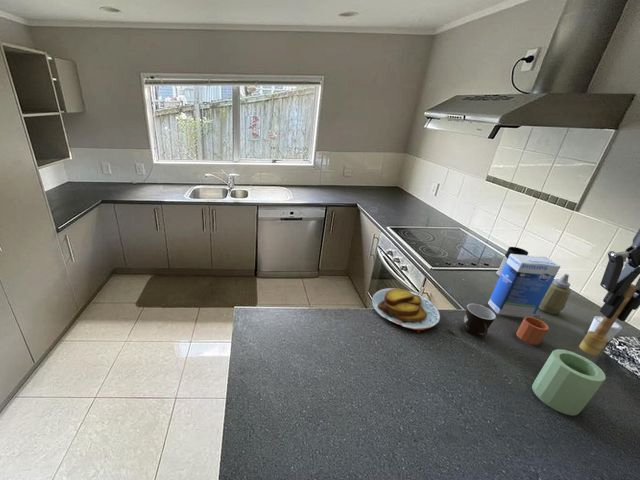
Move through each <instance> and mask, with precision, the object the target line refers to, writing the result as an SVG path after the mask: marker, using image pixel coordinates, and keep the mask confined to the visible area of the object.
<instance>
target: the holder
mask: <svg viewBox="0 0 640 480" xmlns="http://www.w3.org/2000/svg"><path fill="white" fill-rule="evenodd" d="M510 254H518V255H528V256H529V252H528V251H527V250H526V249H525V248H524V249H523V248H520V247H516V246H509V247H508V248H507V251H506V253H505V254H504V256H503V258H502V261H501V262H500V265H499V268H498V270H497V271H495V274H496V275H497V276H499V277H500V276H501V273H502V271H503V269H504V267H505V264H506V262H507V260H508V258H509V255H510Z"/></svg>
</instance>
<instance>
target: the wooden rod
mask: <svg viewBox="0 0 640 480" xmlns="http://www.w3.org/2000/svg"><path fill="white" fill-rule="evenodd" d="M635 285H636V284H633V283H632V284H631V285H630V286H629V287H628V288H627V290H626V291H625V292H624V293H623V294H622V296H624V297H625V299H624V300H623V302H622V303H621V305H620V306H619V308H618V309H617V311H616V312H615V314H614V315H613V317H612V318H611V319H610V318H607V317H605V316H603V317H604V318H603V320H602V321H601V323H600V324H599V326H598V327H597V329H596V330H595V332H594V331H589V332H588V331H587V333H586V335H585V336H584V337H583V339H582V340H581V342H580V344H578V347H579V349H580V350H581V351H583V352H585V353H586V354H589V355H592V356H595V357H597V356H599V355H600V354H601V352H602V351H603V349H604V348H605V347H606V345H607V344H608V343H609V342H610V341H609V340H608V338H607V337H605V335H606V334H607V332H608V331H609V329H610V328H611V326H612V325H613V324H614V322H617V320H618V316H619V315H620V313H621V312H622V310H623V309H624V307H625V306H626V305H627V303H628V302H629V300H630V299H631V297H632V296H633V294H634V293H635V291H636V290H637V288H638V287H637V286H635ZM608 341H609V342H608Z"/></svg>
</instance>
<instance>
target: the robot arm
mask: <svg viewBox="0 0 640 480" xmlns="http://www.w3.org/2000/svg"><path fill="white" fill-rule="evenodd" d="M607 257H608V262H607V264H606V266H605V269H604V272H603V275H602V278H601V281H600V283H599V284H600V287H602V288H603V289H604V290H606V291H607V292H606V294H605V296H604V297H603V299H602V302H603V303H604V304H603V305H602V307H601V308H600V309H599V312H600V313H601V314H602V315H603V317H607V318H610V319H611V318H612V317H613V315H614V314H615V312H616V311H617V309H618V308H619V306H620V305H621V303H622V302H623V300H624V299H625V297H624V296H622V294H623V293H624V292H625V291H626V290H627V288H628V287H629V286H630V285H631V284H633V283H634V281H635V280H636V279H637V278H638V279H637V281H636V283H635V284H634V285H635V286H637V287H638V288H637V290H636V291H635V293H634V294H633V296H632V297H631V299H630V300H629V302H628V303H627V305H626V306H625V307H624V309H623V310H622V312H621V313H620V315H619V316H618V318H617V320H618V321H620V322H626V320H627V319H628V317H629V316H630V314H631V313H632V312H633V310H634V311H636V310H637V309H639V307H640V276H639V275H640V228H639V229H638V231H637V232H636V233H635V235H634V237H633V239H632V243H631V245H630V246H628V247H627V248H626V249H625V250H624V251H618V252H615V251H613V250H610V251H608V252H607Z"/></svg>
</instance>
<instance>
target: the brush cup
mask: <svg viewBox="0 0 640 480" xmlns="http://www.w3.org/2000/svg"><path fill="white" fill-rule="evenodd" d="M549 329H550V327H549V326H548V324H547V323H546V322H545V321H543V320H541V319H539V318H537V317H528V316H527V317H524V318H523V319H522V321H521V323H520V325H519V327H518V329H517V331H516V333H515V334H516V336H517V337H518V339H520V340H521V341H523V342H525V343H527V344H529V345H532V346H533V345H534V346H539V345H540V344H541V343H542V341H543V339H544V337H545V335H546V334H547V332H548V331H549Z"/></svg>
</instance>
